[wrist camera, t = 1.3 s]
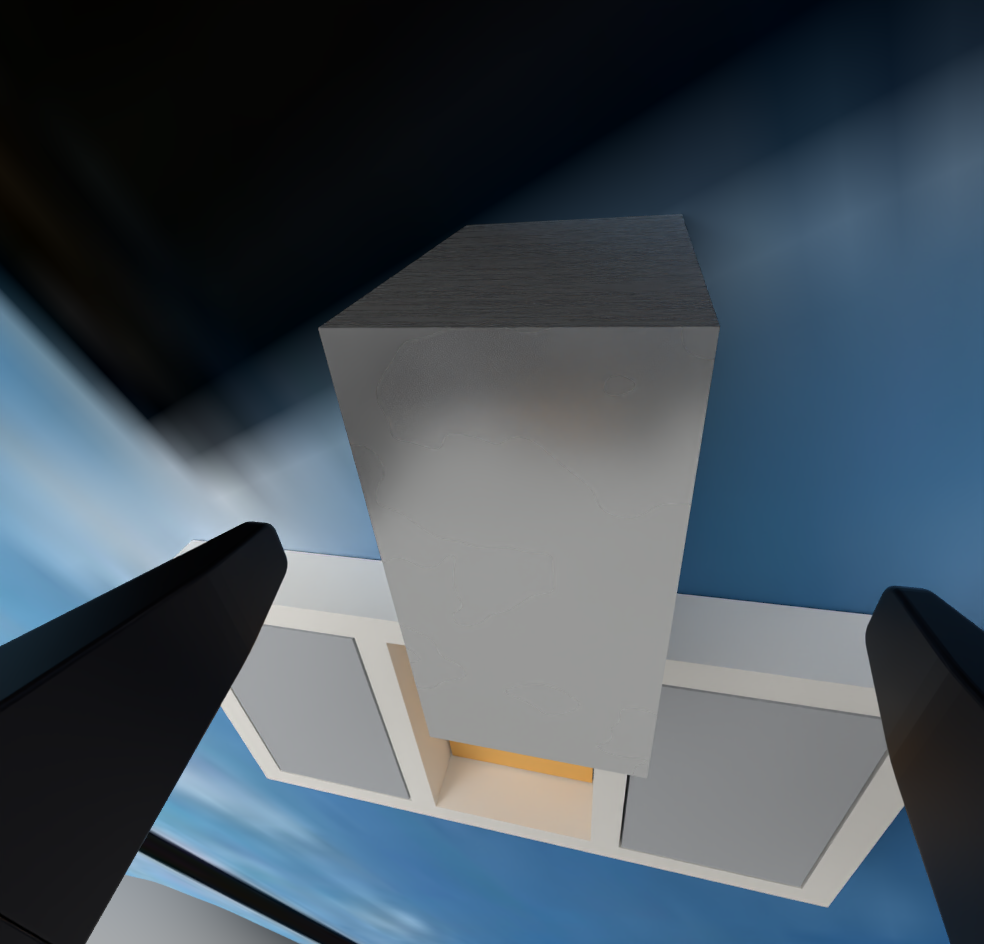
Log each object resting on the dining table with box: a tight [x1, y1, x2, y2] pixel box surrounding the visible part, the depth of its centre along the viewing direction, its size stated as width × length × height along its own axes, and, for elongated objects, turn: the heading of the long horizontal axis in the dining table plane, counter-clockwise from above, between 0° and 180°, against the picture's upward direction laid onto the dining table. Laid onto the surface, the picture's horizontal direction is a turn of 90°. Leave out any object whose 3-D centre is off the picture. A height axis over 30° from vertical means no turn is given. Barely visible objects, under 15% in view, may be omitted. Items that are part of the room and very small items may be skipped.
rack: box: [173, 540, 904, 907], centre depth 18 cm, size 22×12×2 cm, turn 95°
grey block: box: [318, 214, 720, 778], centre depth 10 cm, size 4×8×6 cm, turn 5°
